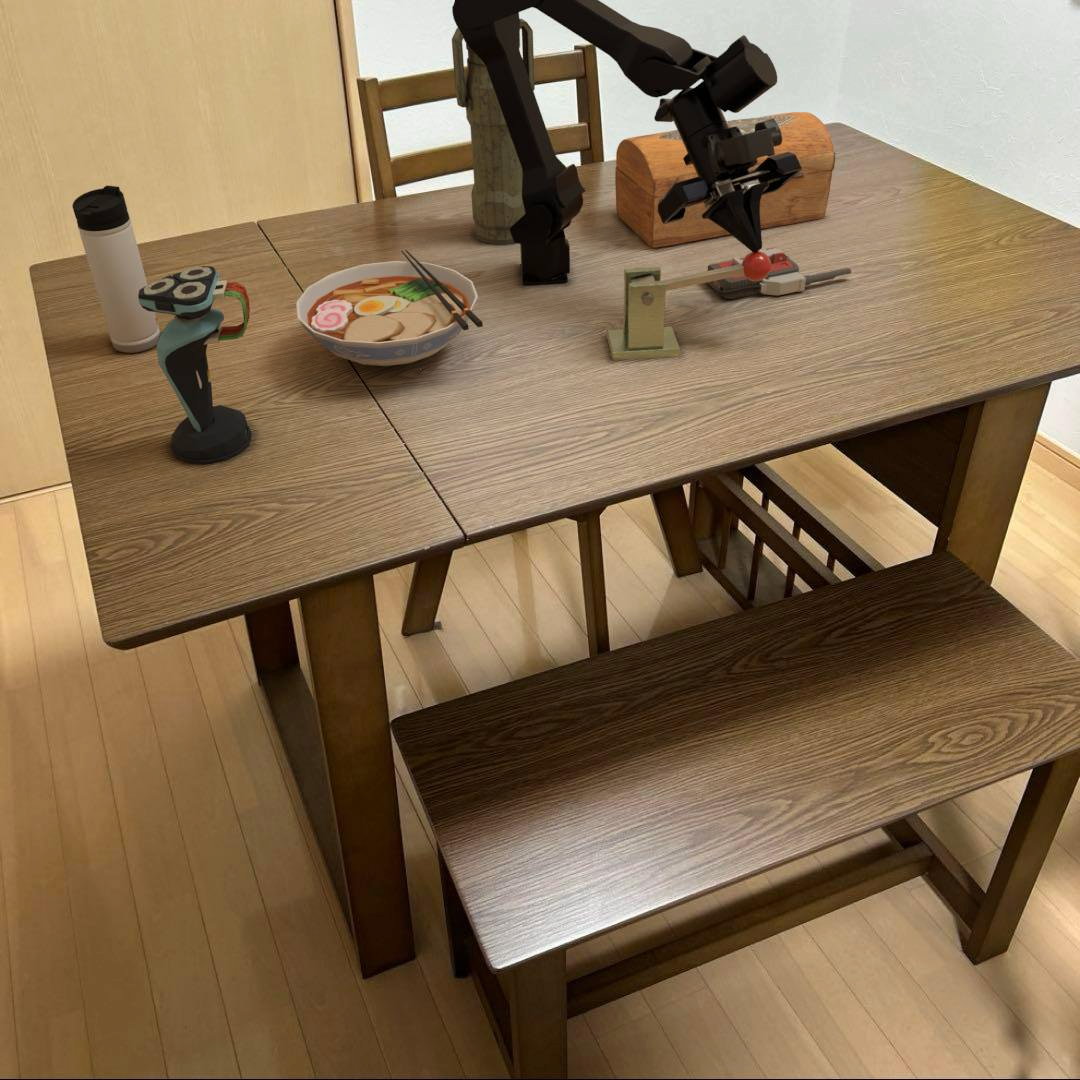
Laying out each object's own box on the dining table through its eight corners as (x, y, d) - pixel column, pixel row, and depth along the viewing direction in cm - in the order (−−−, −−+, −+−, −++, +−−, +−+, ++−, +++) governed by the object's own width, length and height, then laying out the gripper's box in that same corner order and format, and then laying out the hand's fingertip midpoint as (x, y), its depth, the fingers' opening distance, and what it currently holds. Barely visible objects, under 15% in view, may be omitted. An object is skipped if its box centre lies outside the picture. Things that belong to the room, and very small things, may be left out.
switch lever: (768, 270, 141) (766, 243, 139) (775, 282, 138) (773, 255, 136) (633, 298, 142) (629, 272, 140) (637, 311, 139) (633, 285, 137)
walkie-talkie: (726, 309, 152) (853, 283, 157) (728, 279, 149) (858, 253, 155) (696, 283, 159) (819, 259, 164) (698, 254, 156) (823, 229, 161)
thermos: (551, 232, 174) (545, -15, 152) (486, 252, 169) (470, -1, 147) (519, 214, 180) (509, -26, 158) (455, 233, 175) (436, -13, 153)
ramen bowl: (283, 329, 151) (273, 272, 146) (444, 294, 158) (439, 239, 153) (332, 418, 133) (322, 357, 128) (511, 375, 140) (508, 315, 135)
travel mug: (172, 333, 151) (135, 187, 139) (143, 356, 146) (102, 207, 134) (133, 327, 153) (92, 182, 141) (103, 350, 148) (58, 202, 136)
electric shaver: (178, 423, 133) (136, 265, 121) (278, 416, 134) (247, 258, 121) (164, 467, 126) (118, 303, 114) (270, 459, 127) (236, 296, 114)
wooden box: (778, 183, 187) (787, 97, 179) (829, 219, 175) (841, 129, 166) (610, 211, 180) (610, 123, 171) (651, 250, 168) (654, 158, 159)
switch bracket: (671, 334, 147) (675, 264, 141) (679, 356, 142) (683, 285, 136) (606, 338, 147) (607, 268, 141) (612, 360, 142) (613, 289, 136)
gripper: (676, 114, 127) (732, 239, 126) (800, 83, 135) (854, 201, 134) (633, 164, 137) (685, 280, 137) (751, 132, 145) (801, 242, 144)
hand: (757, 250), depth 137 cm, fingers closed
